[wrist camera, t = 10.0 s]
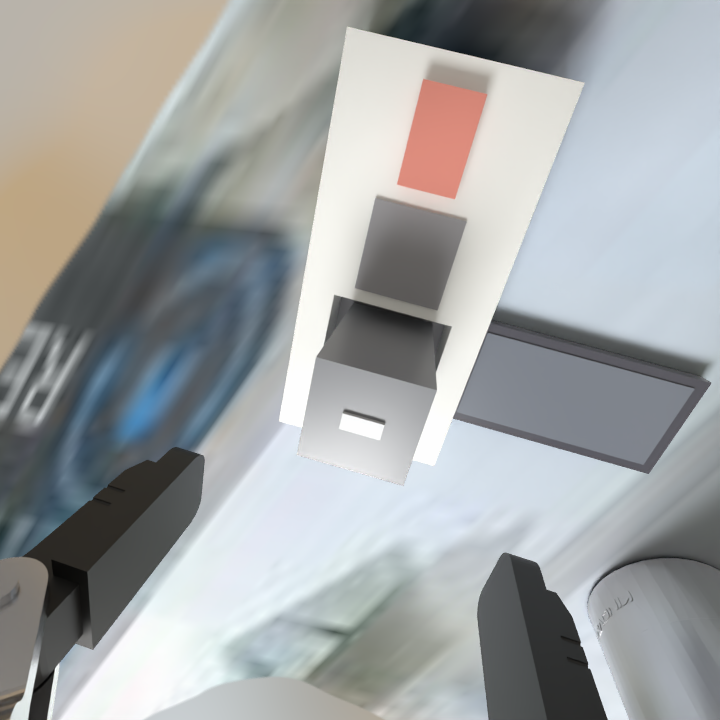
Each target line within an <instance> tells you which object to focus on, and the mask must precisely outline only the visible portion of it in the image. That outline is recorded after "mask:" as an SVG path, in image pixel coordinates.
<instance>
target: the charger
mask: <svg viewBox="0 0 720 720" xmlns="http://www.w3.org/2000/svg"><path fill="white" fill-rule="evenodd" d="M436 392H437V382H436V368H435V354H434V340H433V325H432V323H428V322H425V321H421V320H417V319H413V318H410V317H406V316H402V315H398V314H395V313H391V312H387V311H384V310H380V309H376V308H372V307H369V306H365V305H361V304H357V303H353V304H352V306H351V307H350V309H349V310H348V311H347V313H346V314H345V316H344V317H343V319H342V320H341V322H340V323H339V325H338V326H337V327H336V329H335V330H334V332H333V333H332V335H331V336H330V338H329V339H328V340H327V342H326V343H325V345H324V346H323V348H322V349H321V351H320V352H319V353H318V355H317V356H316V360H315V365H314V370H313V375H312V380H311V385H310V390H309V395H308V400H307V405H306V410H305V415H304V420H303V425H302V430H301V436H300V441H299V446H298V451H297V455H298V456H302V457H305V458H309V459H312V460H316V461H319V462H323V463H326V464H330V465H333V466H336V467H340V468H343V469H347V470H350V471H354V472H357V473H361V474H364V475H367V476H371V477H374V478H378V479H381V480H385V481H388V482H392V483H395V484H399V485H402V486H403V485H404V482H405V479H406V477H407V474H408V471H409V468H410V465H411V462H412V460H413V457H414V454H415V451H416V448H417V446H418V443H419V440H420V437H421V434H422V431H423V429H424V426H425V423H426V420H427V417H428V414H429V412H430V409H431V406H432V403H433V400H434V398H435V395H436Z"/></svg>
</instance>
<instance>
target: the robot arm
mask: <svg viewBox="0 0 720 720" xmlns="http://www.w3.org/2000/svg"><path fill="white" fill-rule="evenodd" d="M204 461H205V460H204V456H203V455H200V454H197V453H194V452H191V451H188V450H185V449H181V448H178V447H174V448H172V449H171V450H169V451H168V452H167V453H166V454H165V455H164V456H163V457H162V458H161V459H160V460H158V461H157V462H152V461H149V460H146V461H144V462H142V463H140V464H137V465H135V466H133V467H131V468H129V469H127V470H125V471H124V472H123V473H121V474H120V475H119V476H118V477H117V478H115V479H114V480H113V481H112V482H111V483H110V484H108V487H107V488H104V489H103V490H101V491H100V492H99V493H98V494H97V495H95V496H94V497H93V500H92V501H88V502H87V503H86V504H85V505H84V506H83V507H81V508H80V509H79V510H78V511H77V512H75V513H74V514H73V515H72V516H71V517H70V518H68V519H67V520H66V521H65V522H64V523H63V524H61V525H60V526H59V527H58V528H57V529H55V530H54V531H53V532H52V533H51V534H50V535H48V536H47V537H46V538H45V539H44V540H43V541H41V542H40V543H39V544H38V545H37V546H35V547H34V548H33V549H32V550H31V551H29V552H28V553H27V554H25V555H24V556H22V557H14V558H7V559H3V560H0V720H52V714H53V707H54V701H55V694H56V687H57V681H58V674H59V665H60V662H61V660H62V659H63V658H64V657H65V655H66V654H67V653H68V652H69V651H70V649H71V648H72V647H73V646H74V644H75V643H76V644H79V645H81V646H84V647H87V648H90V649H92V650H93V649H94V648H95V646H96V645H97V644H98V642H99V641H100V640H101V639H102V637H103V636H104V635H105V633H106V632H107V631H108V629H109V628H110V627H111V626H112V624H113V623H114V622H115V620H116V619H117V618H118V617H119V615H120V614H121V613H122V611H123V610H124V609H125V607H126V606H127V605H128V604H129V602H130V601H131V600H132V598H133V597H134V596H135V594H136V593H137V592H138V591H139V589H140V588H141V587H142V585H143V584H144V583H145V581H146V580H147V579H148V578H149V576H150V575H151V574H152V572H153V571H154V570H155V568H156V567H157V566H158V565H159V563H160V562H161V561H162V559H163V558H164V557H165V555H166V554H167V553H168V552H169V550H170V549H171V548H172V546H173V545H174V544H175V542H176V541H177V540H178V539H179V537H180V536H181V535H182V533H183V532H184V531H185V529H186V528H187V527H188V526H189V524H190V523H191V522H192V520H193V518H194V517H195V515H196V513H197V510H198V508H199V505H200V502H201V495H202V484H203V473H204ZM587 608H588V615H589V618H590V621H591V623H592V626H593V628H594V631H595V633H596V636H597V639H598V641H599V644H600V646H601V649H602V651H603V654H604V656H605V659H606V661H607V664H608V666H609V669H610V671H611V674H612V676H613V679H614V682H615V685H616V687H617V690H618V692H619V695H620V697H621V700H622V702H623V705H624V707H625V710H626V712H627V715H628V717H629V720H720V571H719V570H718V569H716V568H714V567H712V566H710V565H707V564H703V563H700V562H697V561H693V560H686V559H679V558H658V559H651V560H644V561H640V562H636V563H633V564H629V565H626V566H624V567H622V568H620V569H618V570H616V571H614V572H612V573H611V574H609V575H608V576H606V577H605V578H603V579H602V580H601V581H600V582H599V583H598V584H597V586H596V587H595V588H594V589H593V591H592V593H591V595H590V597H589V601H588V606H587ZM477 618H478V628H479V637H480V646H481V655H482V664H483V673H484V681H485V690H486V699H487V708H488V717H489V720H608V719H607V717H606V714H605V711H604V708H603V705H602V702H601V699H600V696H599V693H598V690H597V688H596V685H595V682H594V679H593V676H592V673H591V670H590V669H588V661H587V659H586V656H585V653H584V650H583V647H581V646H580V643H581V641H580V638H579V635H578V632H577V629H576V627H575V624H574V621H573V618H572V616H571V614H570V613H569V611H568V610H567V608H566V607H565V605H564V604H563V602H562V601H561V599H560V598H559V596H558V595H557V593H555V592H552V591H549V590H546V587H545V583H544V580H543V577H542V573H541V570H540V567H539V565H538V564H537V563H536V562H533V561H530V560H527V559H524V558H521V557H518V556H515V555H511V554H508V553H503V554H502V555H501V556H500V558H499V560H498V562H497V564H496V566H495V567H494V569H493V571H492V573H491V575H490V577H489V579H488V580H487V582H486V584H485V586H484V588H483V590H482V592H481V594H480V598H479V602H478V612H477Z"/></svg>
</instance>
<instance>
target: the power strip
mask: <svg viewBox="0 0 720 720" xmlns="http://www.w3.org/2000/svg"><path fill="white" fill-rule="evenodd" d="M583 86H584V82H580V81H575V80H571V79H567V78H563V77H558V76H554V75H550V74H546V73H541V72H537V71H533V70H529V69H524V68H520V67H516V66H512V65H508V64H503V63H499V62H495V61H491V60H486V59H482V58H478V57H474V56H469V55H465V54H461V53H457V52H452V51H448V50H444V49H440V48H436V47H431V46H427V45H423V44H419V43H414V42H410V41H406V40H402V39H397V38H393V37H389V36H385V35H380V34H376V33H372V32H368V31H363V30H359V29H355V28H351V27H347V31H346V37H345V43H344V49H343V54H342V60H341V66H340V72H339V78H338V83H337V89H336V95H335V101H334V107H333V112H332V118H331V124H330V130H329V135H328V141H327V147H326V153H325V159H324V164H323V170H322V176H321V182H320V187H319V193H318V199H317V205H316V211H315V216H314V222H313V228H312V234H311V239H310V245H309V251H308V257H307V263H306V268H305V274H304V280H303V286H302V291H301V297H300V303H299V309H298V315H297V320H296V326H295V332H294V338H293V343H292V349H291V355H290V361H289V367H288V372H287V378H286V384H285V390H284V395H283V401H282V407H281V413H280V419H279V421H281V422H284V423H288V424H291V425H295V426H298V427H302V425H303V420H304V415H305V410H306V405H307V400H308V395H309V390H310V385H311V380H312V375H313V370H314V365H315V360H316V356H317V355H318V353H319V352H320V351H321V349H322V348H323V346H324V345H325V343H326V342H327V340H328V339H329V338H330V336H331V335H332V333H333V332H334V330H335V329H336V327H337V326H338V325H339V323H340V322H341V320H342V319H343V317H344V316H345V314H346V313H347V311H348V310H349V309H350V307H351V306H352V304H353V303H357V304H361V305H365V306H369V307H372V308H376V309H380V310H384V311H387V312H391V313H395V314H398V315H402V316H406V317H410V318H413V319H417V320H421V321H425V322H428V323H432V325H433V340H434V354H435V368H436V382H437V392H436V395H435V398H434V400H433V403H432V406H431V409H430V412H429V414H428V417H427V420H426V423H425V426H424V429H423V431H422V434H421V437H420V440H419V443H418V446H417V448H416V451H415V454H414V457H413V460H415V461H419V462H422V463H426V464H429V465H432V466H434V465H435V462H436V460H437V457H438V455H439V452H440V449H441V447H442V444H443V442H444V439H445V437H446V434H447V432H448V429H449V427H450V424H451V421H452V419H453V416H454V414H455V411H456V409H457V406H458V404H459V401H460V399H461V396H462V394H463V391H464V388H465V386H466V383H467V381H468V378H469V376H470V373H471V371H472V368H473V366H474V363H475V360H476V358H477V355H478V353H479V350H480V348H481V345H482V343H483V340H484V338H485V335H486V333H487V330H488V327H489V325H490V322H491V320H492V317H493V315H494V312H495V310H496V307H497V305H498V302H499V299H500V297H501V294H502V292H503V289H504V287H505V284H506V282H507V279H508V277H509V274H510V272H511V269H512V266H513V264H514V261H515V259H516V256H517V254H518V251H519V249H520V246H521V244H522V241H523V238H524V236H525V233H526V231H527V228H528V226H529V223H530V221H531V218H532V216H533V213H534V210H535V208H536V205H537V203H538V200H539V198H540V195H541V193H542V190H543V188H544V185H545V183H546V180H547V177H548V175H549V172H550V170H551V167H552V165H553V162H554V160H555V157H556V155H557V152H558V149H559V147H560V144H561V142H562V139H563V137H564V134H565V132H566V129H567V127H568V124H569V122H570V119H571V116H572V114H573V111H574V109H575V106H576V104H577V101H578V99H579V96H580V94H581V91H582V88H583Z"/></svg>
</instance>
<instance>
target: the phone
mask: <svg viewBox="0 0 720 720" xmlns="http://www.w3.org/2000/svg"><path fill="white" fill-rule="evenodd" d="M710 384H711V382H709V381H708V380H706V379H704V378H703V377H701V376H698V375H694V374H690V373H687V372H683V371H679V370H675V369H672V368H668V367H664V366H661V365H657V364H653V363H649V362H646V361H642V360H638V359H635V358H631V357H627V356H623V355H620V354H616V353H612V352H609V351H605V350H601V349H597V348H594V347H590V346H586V345H583V344H579V343H575V342H571V341H568V340H564V339H560V338H557V337H553V336H549V335H546V334H542V333H538V332H534V331H531V330H527V329H523V328H520V327H516V326H512V325H508V324H505V323H501V322H497V321H494V320H491V322H490V325H489V327H488V330H487V333H486V335H485V338H484V340H483V343H482V345H481V348H480V350H479V353H478V355H477V358H476V360H475V363H474V366H473V368H472V371H471V373H470V376H469V378H468V381H467V383H466V386H465V388H464V391H463V394H462V396H461V399H460V401H459V404H458V406H457V409H456V411H455V414H454V416H453V419H457V420H460V421H464V422H467V423H471V424H474V425H478V426H481V427H485V428H489V429H492V430H496V431H499V432H503V433H506V434H510V435H513V436H517V437H520V438H524V439H527V440H531V441H534V442H538V443H541V444H545V445H548V446H552V447H556V448H559V449H563V450H566V451H570V452H573V453H577V454H580V455H584V456H587V457H591V458H594V459H598V460H601V461H605V462H608V463H612V464H615V465H619V466H623V467H626V468H630V469H633V470H637V471H640V472H644V473H647V474H649V473H650V471H651V470H652V468H653V467H654V465H655V464H656V463H657V461H658V460H659V458H660V457H661V455H662V454H663V452H664V451H665V449H666V448H667V447H668V445H669V444H670V442H671V441H672V439H673V438H674V436H675V435H676V434H677V432H678V431H679V429H680V428H681V426H682V425H683V423H684V422H685V421H686V419H687V418H688V416H689V415H690V413H691V412H692V410H693V409H694V408H695V406H696V405H697V403H698V402H699V400H700V399H701V397H702V396H703V395H704V393H705V392H706V390H707V389H708V387H709V386H710Z"/></svg>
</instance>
